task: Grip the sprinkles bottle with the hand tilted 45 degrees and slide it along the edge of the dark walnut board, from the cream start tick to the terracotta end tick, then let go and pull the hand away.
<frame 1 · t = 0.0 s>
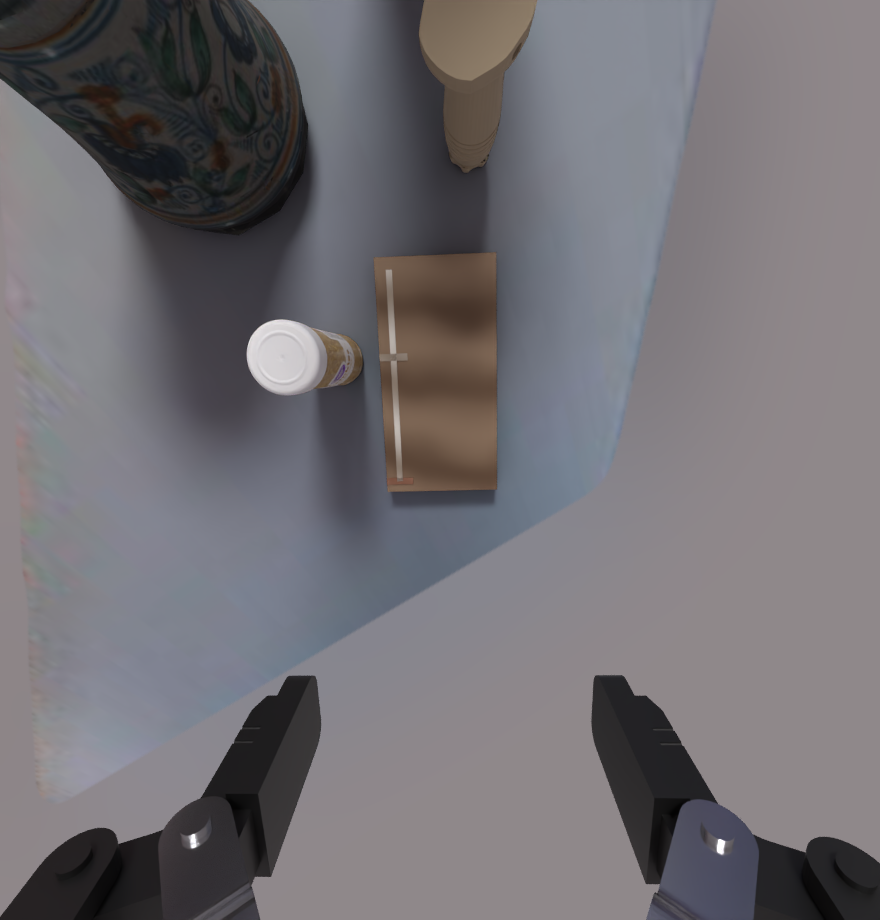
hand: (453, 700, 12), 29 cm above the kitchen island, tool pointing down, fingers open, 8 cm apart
handle: (469, 153, 35), on the kitchen island
walnut board: (439, 378, 39), on the kitchen island
beer stein: (210, 111, 35), on the kitchen island
sprinkles bottle: (339, 359, 39), on the kitchen island
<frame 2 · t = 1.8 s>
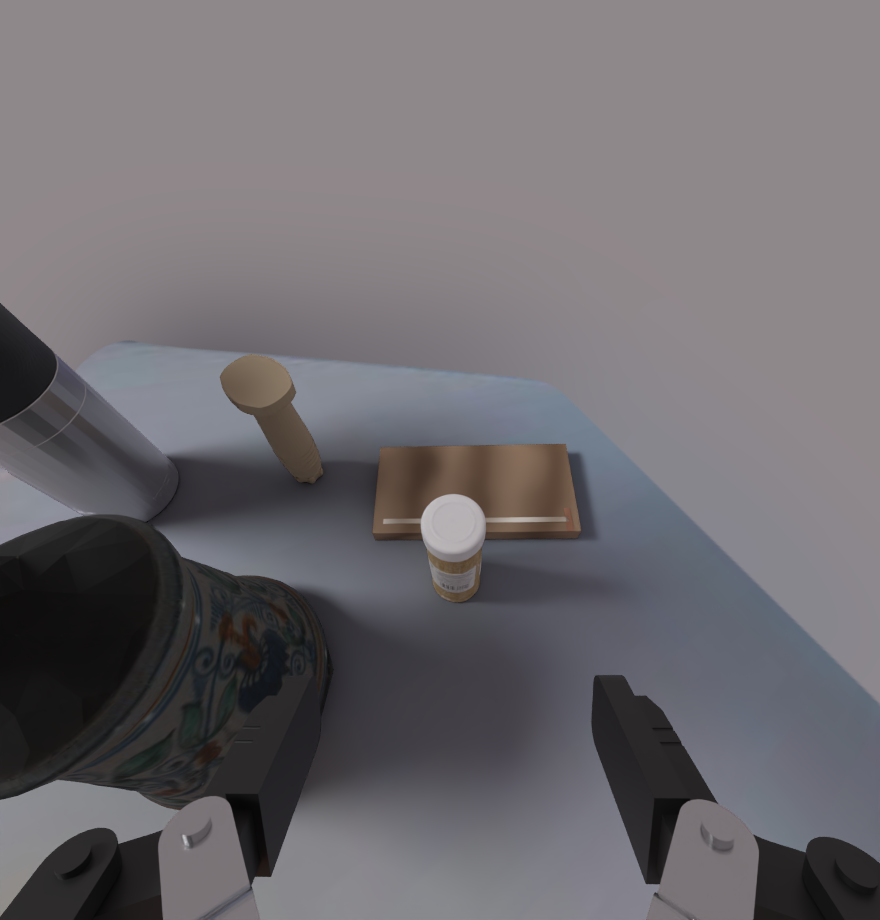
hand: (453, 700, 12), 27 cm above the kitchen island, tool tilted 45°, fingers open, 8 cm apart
handle: (310, 473, 48), on the kitchen island
walnut board: (473, 494, 46), on the kitchen island
beer stein: (224, 685, 37), on the kitchen island
sprinkles bottle: (455, 579, 41), on the kitchen island
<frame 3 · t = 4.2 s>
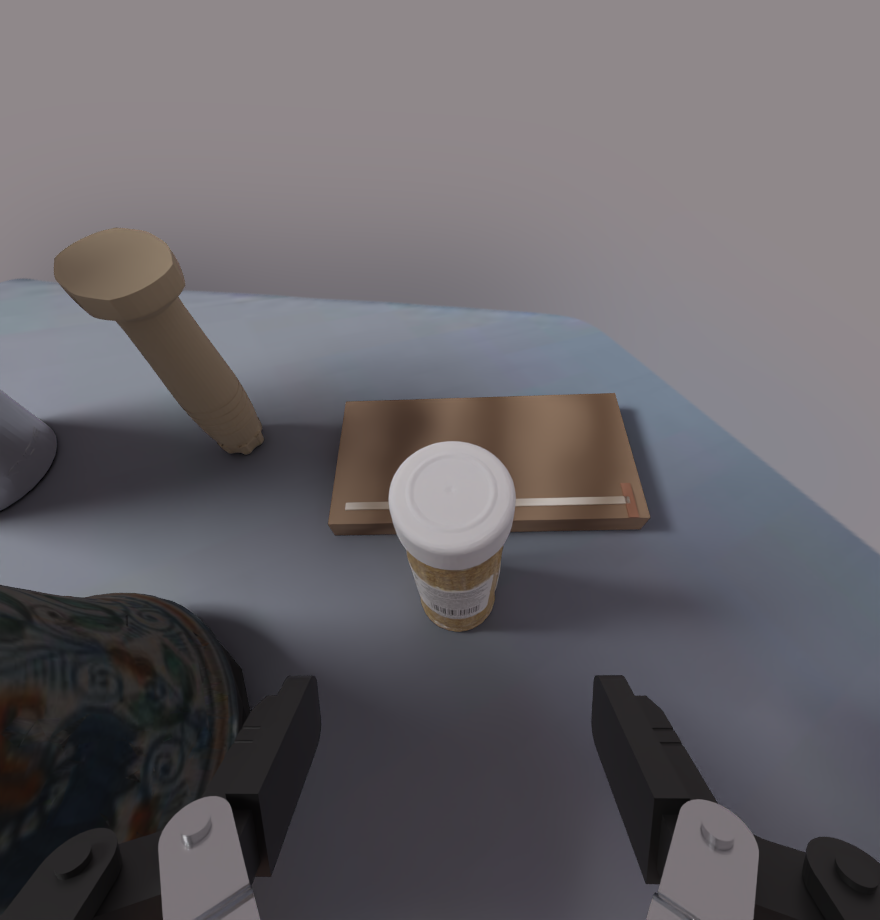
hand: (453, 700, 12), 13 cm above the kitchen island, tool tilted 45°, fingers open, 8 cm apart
handle: (246, 441, 34), on the kitchen island
walnut board: (481, 467, 31), on the kitchen island
beer stein: (76, 776, 23), on the kitchen island
sprinkles bottle: (456, 595, 27), on the kitchen island
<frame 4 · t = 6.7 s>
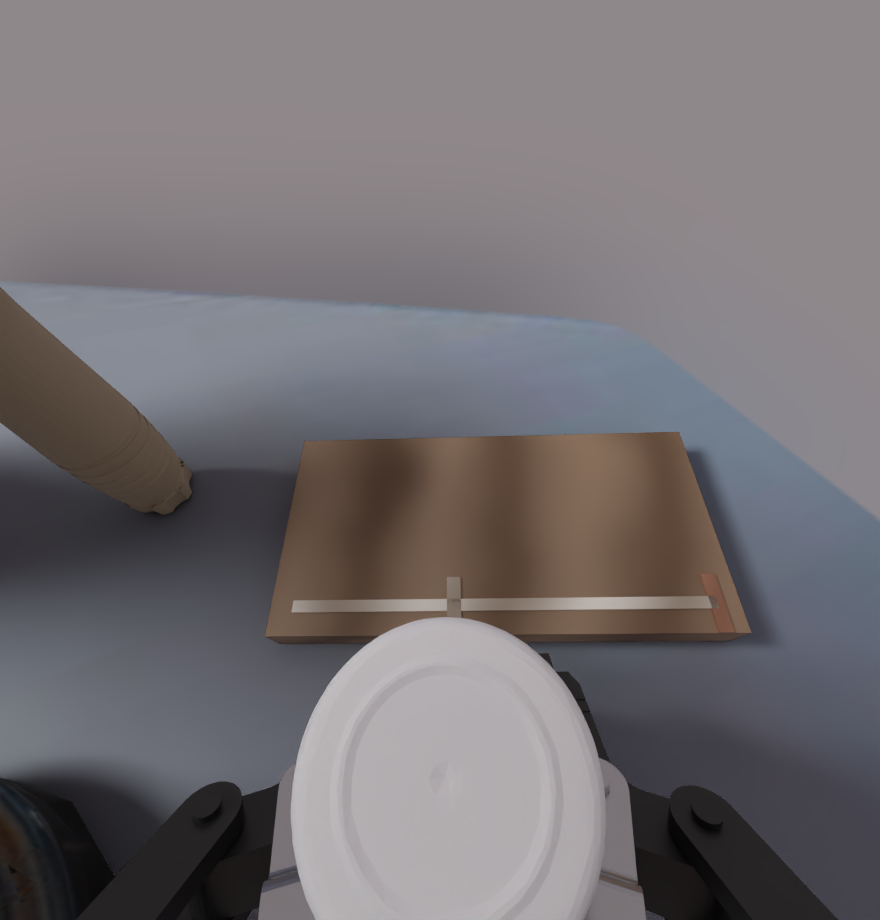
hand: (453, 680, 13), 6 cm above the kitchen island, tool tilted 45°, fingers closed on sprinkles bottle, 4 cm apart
handle: (169, 493, 25), on the kitchen island
walnut board: (492, 537, 22), on the kitchen island
sprinkles bottle: (456, 749, 18), on the kitchen island, touching gripper
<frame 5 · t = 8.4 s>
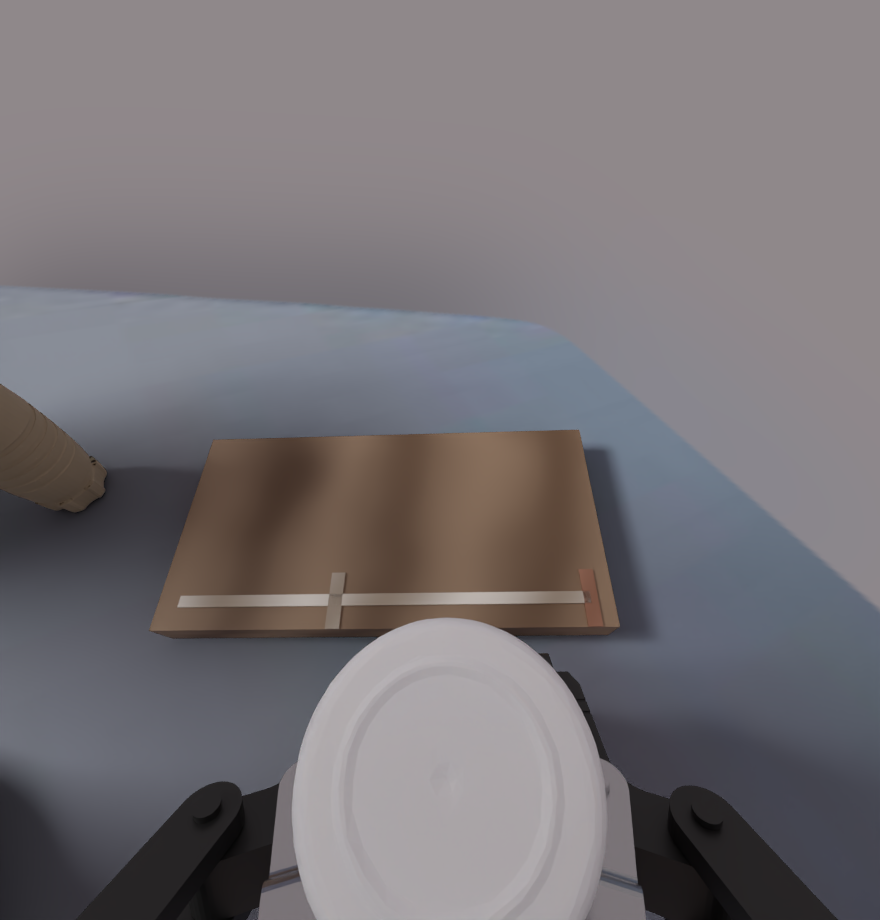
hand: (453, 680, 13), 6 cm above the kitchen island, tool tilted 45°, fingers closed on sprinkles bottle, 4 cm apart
handle: (85, 492, 25), on the kitchen island
walnut board: (392, 533, 22), on the kitchen island
sprinkles bottle: (455, 749, 18), on the kitchen island, touching gripper
when the fingers open (6 cm above the kitchen island, at t = 10.1 s): sprinkles bottle stays where it is, on the kitchen island.
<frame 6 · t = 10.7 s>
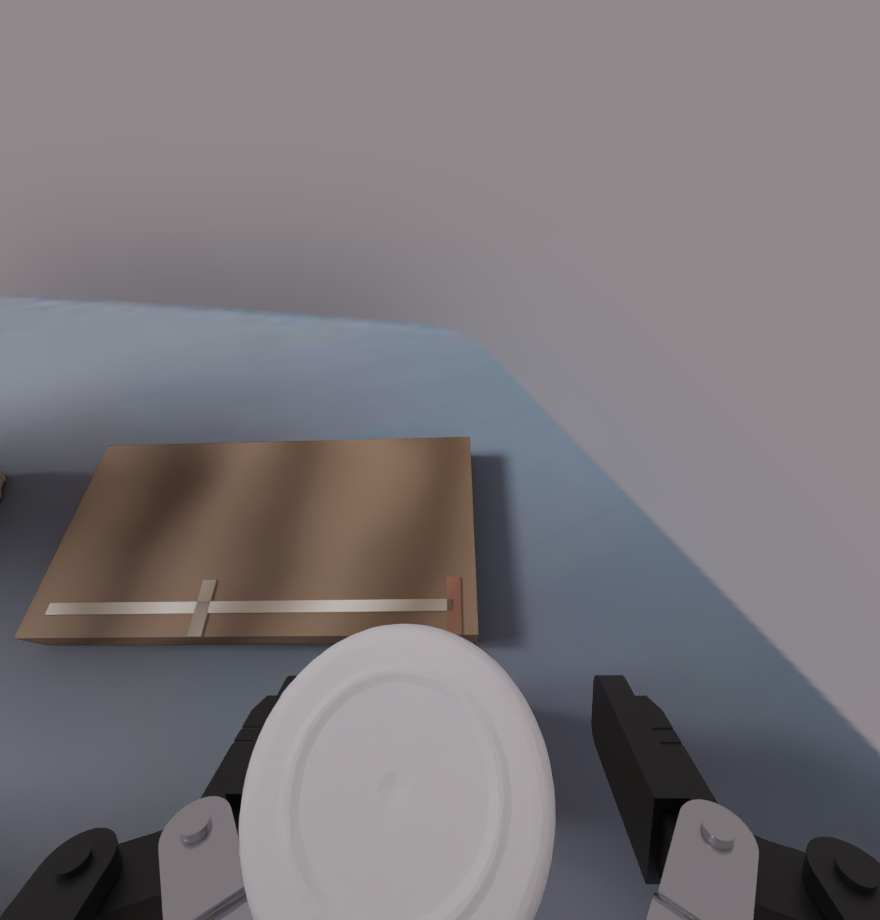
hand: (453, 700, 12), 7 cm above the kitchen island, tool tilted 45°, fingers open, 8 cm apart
walnut board: (279, 540, 22), on the kitchen island
sprinkles bottle: (438, 753, 17), on the kitchen island
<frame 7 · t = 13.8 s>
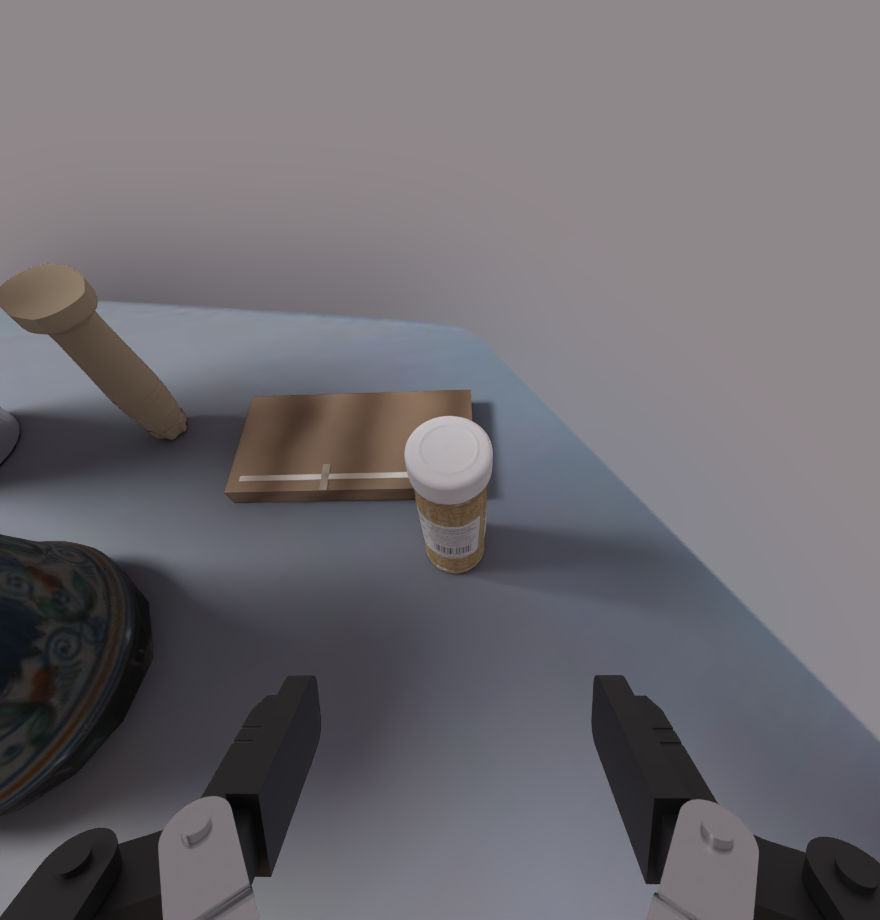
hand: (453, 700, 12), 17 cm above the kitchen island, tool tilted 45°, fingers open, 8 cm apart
handle: (174, 429, 41), on the kitchen island
walnut board: (359, 449, 38), on the kitchen island
beer stein: (16, 677, 30), on the kitchen island
sprinkles bottle: (454, 547, 33), on the kitchen island
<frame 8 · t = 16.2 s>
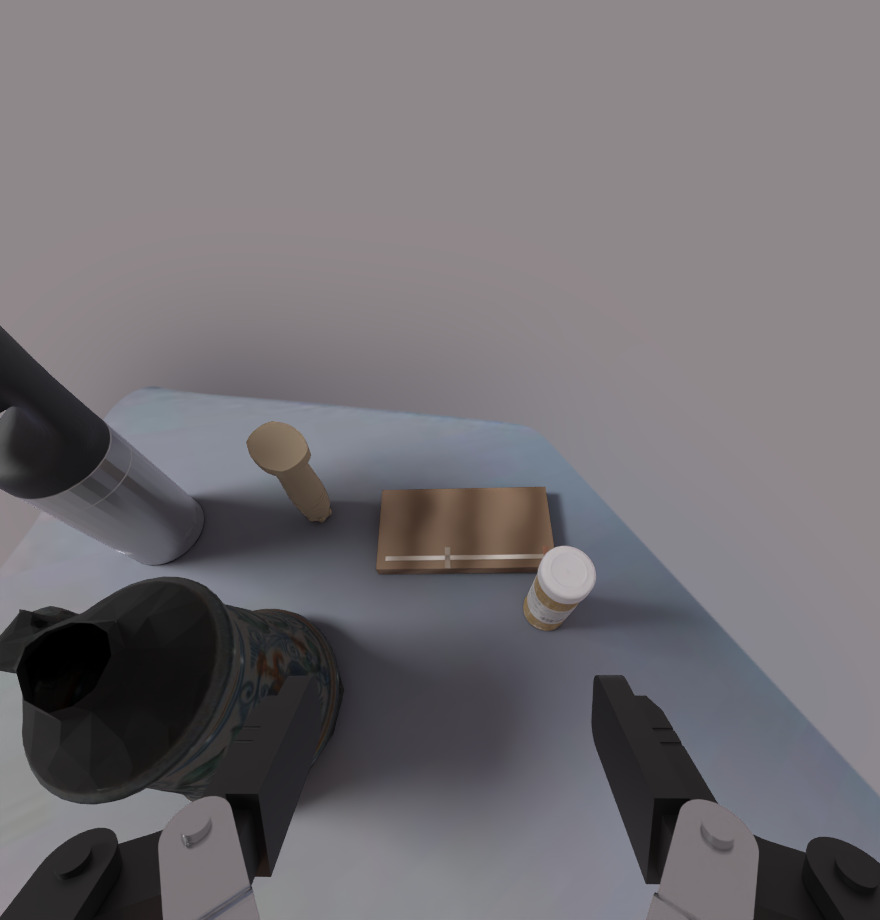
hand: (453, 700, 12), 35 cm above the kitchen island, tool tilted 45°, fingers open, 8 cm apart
handle: (320, 513, 55), on the kitchen island
walnut board: (464, 532, 52), on the kitchen island
beer stein: (250, 704, 44), on the kitchen island
sprinkles bottle: (543, 610, 47), on the kitchen island
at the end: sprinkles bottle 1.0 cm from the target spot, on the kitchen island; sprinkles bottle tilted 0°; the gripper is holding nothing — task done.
